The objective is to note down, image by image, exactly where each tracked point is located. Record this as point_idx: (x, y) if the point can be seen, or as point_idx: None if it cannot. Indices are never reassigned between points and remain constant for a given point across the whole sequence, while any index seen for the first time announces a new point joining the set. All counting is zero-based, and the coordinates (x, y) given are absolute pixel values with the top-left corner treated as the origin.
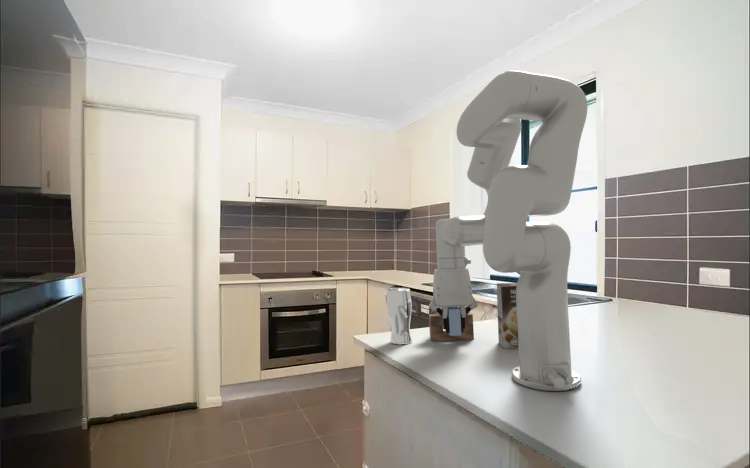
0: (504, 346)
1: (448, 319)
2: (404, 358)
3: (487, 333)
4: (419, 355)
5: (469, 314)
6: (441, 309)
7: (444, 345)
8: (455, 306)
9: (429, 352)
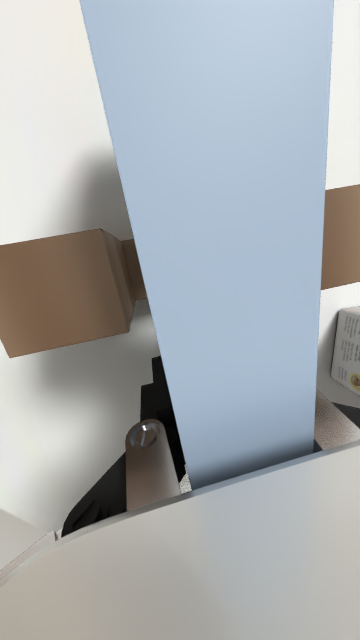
0: (337, 381)
1: (184, 468)
2: (30, 500)
3: (341, 153)
4: (73, 469)
5: (350, 279)
6: (127, 486)
7: (145, 359)
8: (291, 443)
9: (100, 439)
